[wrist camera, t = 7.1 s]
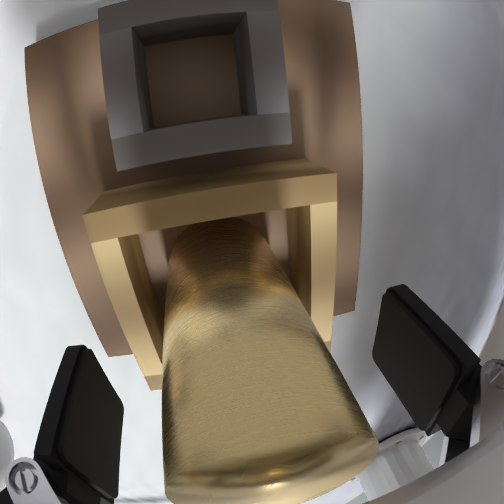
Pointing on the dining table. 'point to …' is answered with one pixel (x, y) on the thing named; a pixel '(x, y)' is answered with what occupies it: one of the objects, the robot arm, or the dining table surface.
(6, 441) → the donut
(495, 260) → the dining table surface
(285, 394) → the beige cylinder
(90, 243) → the board
